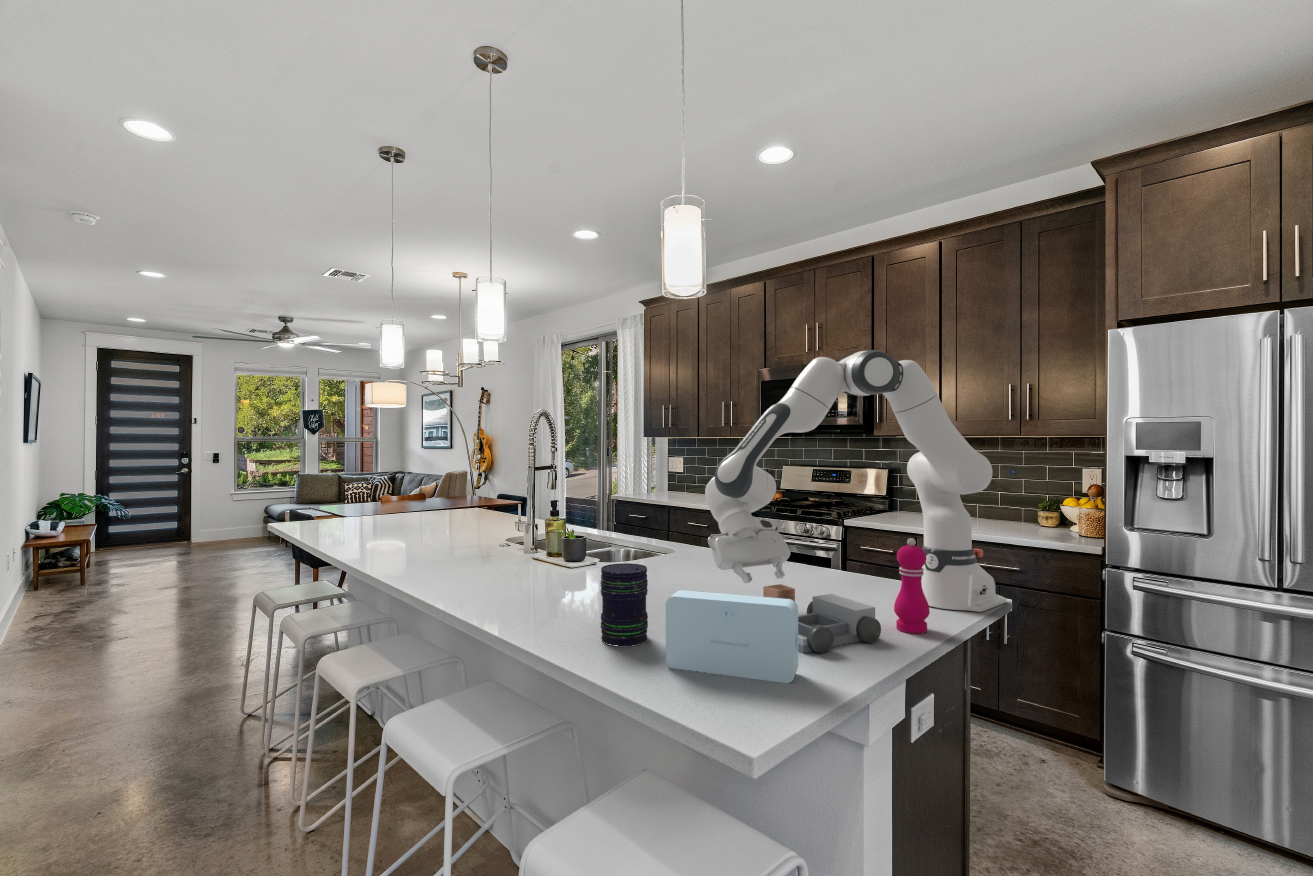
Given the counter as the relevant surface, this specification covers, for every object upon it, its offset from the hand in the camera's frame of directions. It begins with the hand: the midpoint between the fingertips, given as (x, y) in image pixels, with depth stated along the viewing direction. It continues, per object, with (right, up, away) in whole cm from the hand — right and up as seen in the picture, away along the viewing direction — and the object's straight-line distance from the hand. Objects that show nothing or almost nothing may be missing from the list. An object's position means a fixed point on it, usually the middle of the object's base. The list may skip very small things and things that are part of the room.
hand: (765, 579), depth 149 cm
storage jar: (-32, -9, -16) cm, 37 cm away
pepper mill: (+30, -9, -10) cm, 33 cm away
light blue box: (-12, -9, -34) cm, 37 cm away
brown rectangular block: (+2, -9, -5) cm, 10 cm away
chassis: (+9, -9, -15) cm, 19 cm away
